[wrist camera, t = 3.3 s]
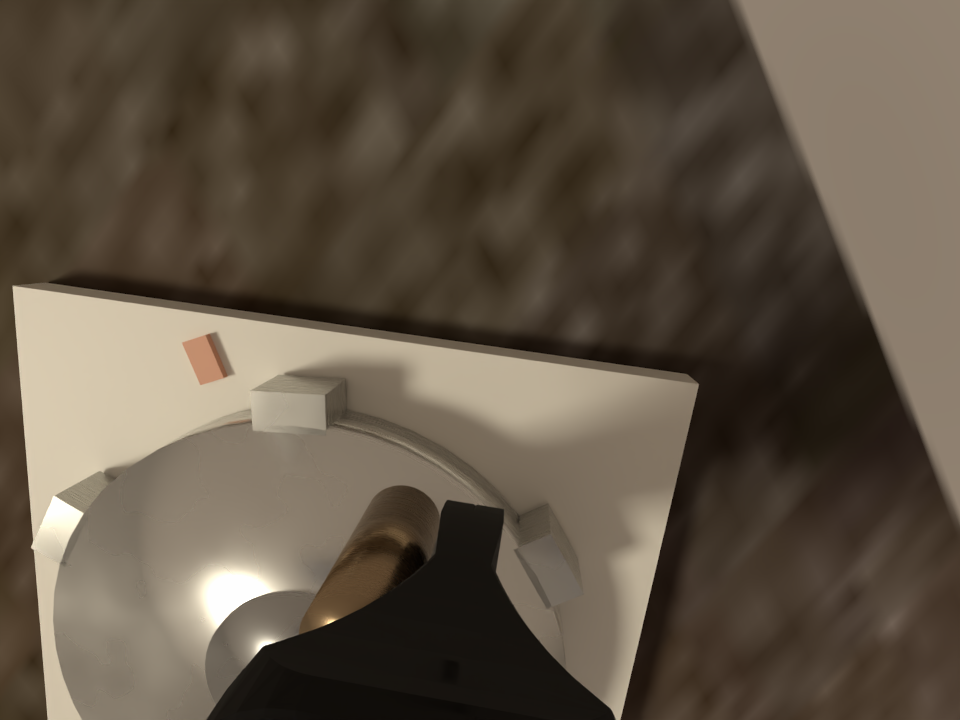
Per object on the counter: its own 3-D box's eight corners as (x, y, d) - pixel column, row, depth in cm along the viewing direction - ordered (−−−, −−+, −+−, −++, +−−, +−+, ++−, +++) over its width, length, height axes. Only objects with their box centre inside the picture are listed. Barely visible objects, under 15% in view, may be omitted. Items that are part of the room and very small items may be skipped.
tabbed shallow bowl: (425, 901, 18) (381, 1187, 12) (8, 665, 17) (-229, 863, 12) (694, 593, 14) (793, 804, 9) (188, 281, 14) (-31, 310, 8)
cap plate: (573, 873, 18) (576, 916, 17) (78, 777, 19) (49, 812, 18) (687, 373, 14) (701, 386, 13) (45, 282, 15) (5, 286, 14)
